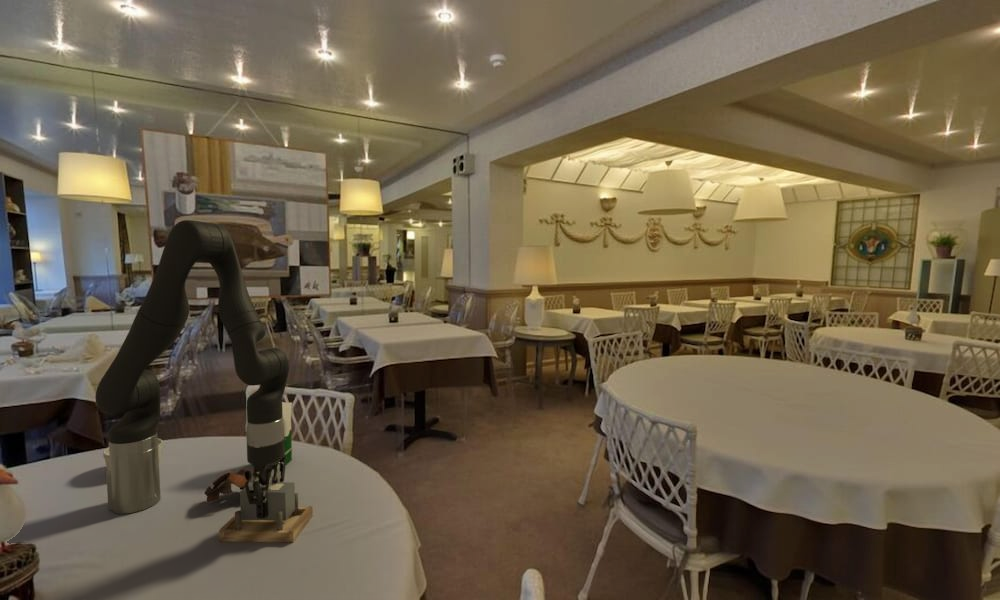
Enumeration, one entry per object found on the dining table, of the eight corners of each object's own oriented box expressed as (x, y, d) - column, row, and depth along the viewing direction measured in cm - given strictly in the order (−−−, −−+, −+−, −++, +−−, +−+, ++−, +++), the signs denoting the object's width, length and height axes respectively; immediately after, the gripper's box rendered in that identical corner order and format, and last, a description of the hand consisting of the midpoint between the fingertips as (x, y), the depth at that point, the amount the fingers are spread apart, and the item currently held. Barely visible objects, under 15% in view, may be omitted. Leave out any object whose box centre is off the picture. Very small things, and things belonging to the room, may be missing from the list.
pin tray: (219, 541, 97) (218, 514, 96) (245, 514, 107) (244, 490, 106) (293, 542, 97) (292, 516, 96) (312, 516, 107) (312, 492, 106)
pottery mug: (243, 513, 108) (221, 488, 106) (213, 525, 110) (191, 501, 108) (269, 478, 120) (250, 455, 117) (242, 489, 122) (223, 467, 119)
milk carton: (267, 458, 137) (265, 394, 135) (296, 458, 137) (295, 395, 135) (251, 471, 128) (248, 403, 127) (282, 472, 128) (280, 404, 126)
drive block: (240, 519, 99) (239, 491, 99) (252, 508, 104) (251, 481, 103) (285, 520, 99) (285, 492, 99) (295, 509, 104) (294, 482, 103)
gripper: (265, 426, 107) (267, 494, 109) (229, 451, 93) (233, 529, 94) (296, 426, 107) (298, 494, 109) (266, 452, 93) (268, 530, 94)
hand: (268, 510), depth 102 cm, fingers closed on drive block, 4 cm apart
